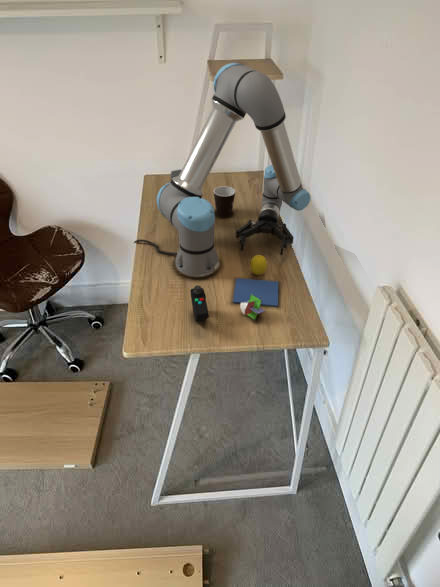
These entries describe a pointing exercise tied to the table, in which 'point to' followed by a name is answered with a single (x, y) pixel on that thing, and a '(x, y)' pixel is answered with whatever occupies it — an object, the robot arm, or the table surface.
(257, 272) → the lemon
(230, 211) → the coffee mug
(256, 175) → the table surface
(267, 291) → the blue mat
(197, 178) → the robot arm
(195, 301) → the controller
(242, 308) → the geometric puzzle
